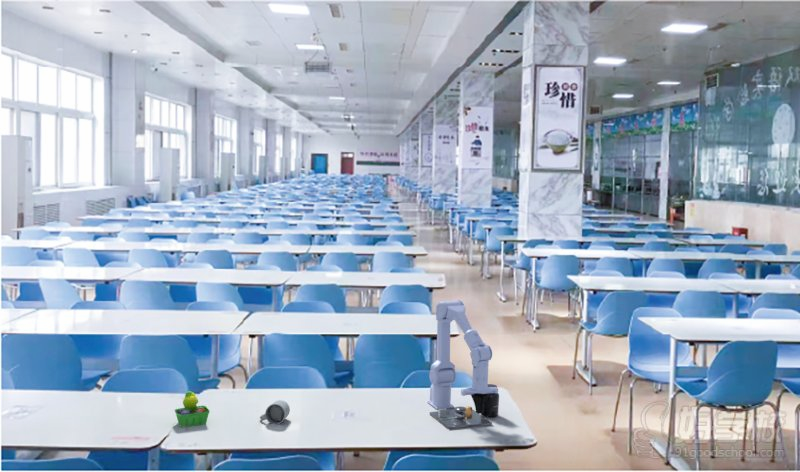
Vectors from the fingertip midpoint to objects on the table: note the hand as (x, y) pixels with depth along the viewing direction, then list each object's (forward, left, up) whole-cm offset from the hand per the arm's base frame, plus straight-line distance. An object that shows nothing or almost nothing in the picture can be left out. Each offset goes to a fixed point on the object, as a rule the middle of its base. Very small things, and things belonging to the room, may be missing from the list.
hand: (478, 412), depth 294 cm
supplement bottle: (-9, +9, -5) cm, 14 cm away
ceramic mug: (-24, -73, -5) cm, 77 cm away
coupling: (-4, -4, -2) cm, 6 cm away
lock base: (-7, -4, -5) cm, 9 cm away
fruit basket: (-30, -102, -5) cm, 107 cm away
